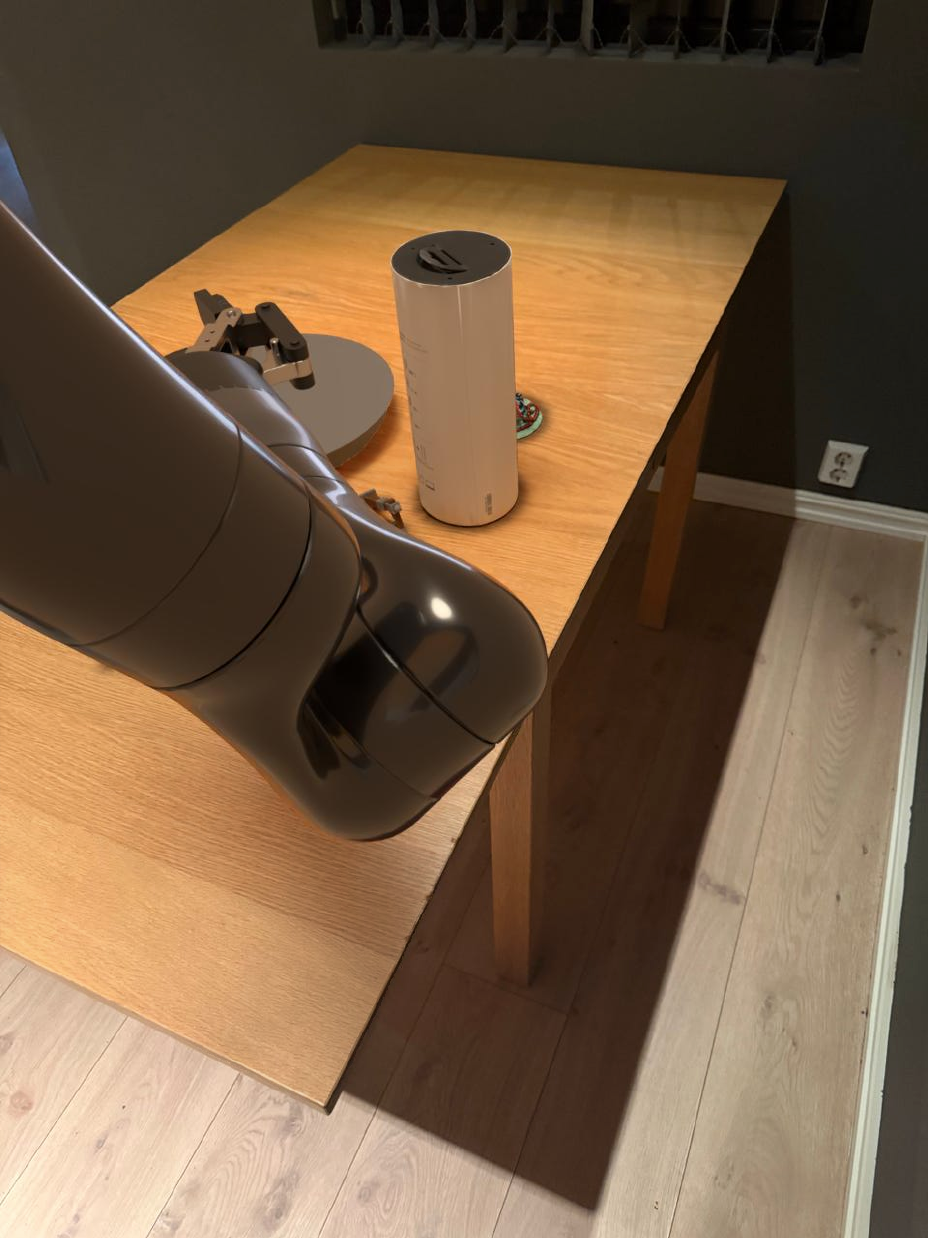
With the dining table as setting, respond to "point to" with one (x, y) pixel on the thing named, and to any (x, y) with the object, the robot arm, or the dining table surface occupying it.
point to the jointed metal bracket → (385, 506)
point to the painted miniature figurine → (526, 416)
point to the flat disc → (340, 394)
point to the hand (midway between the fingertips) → (132, 328)
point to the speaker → (459, 371)
